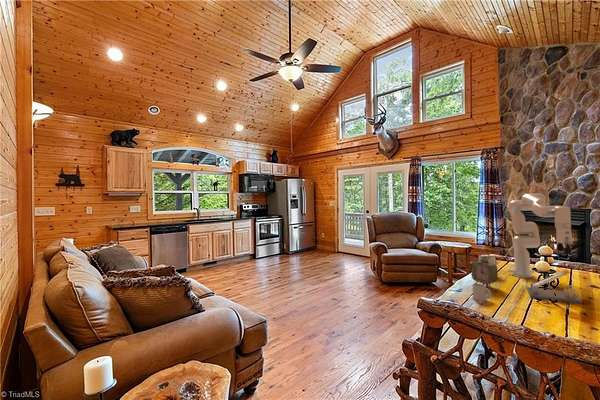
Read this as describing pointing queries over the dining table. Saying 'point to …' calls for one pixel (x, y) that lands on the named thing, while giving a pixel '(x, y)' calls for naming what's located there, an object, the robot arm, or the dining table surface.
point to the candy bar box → (489, 258)
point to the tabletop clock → (484, 271)
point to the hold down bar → (551, 278)
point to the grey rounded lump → (480, 292)
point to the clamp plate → (562, 296)
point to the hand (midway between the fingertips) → (564, 252)
